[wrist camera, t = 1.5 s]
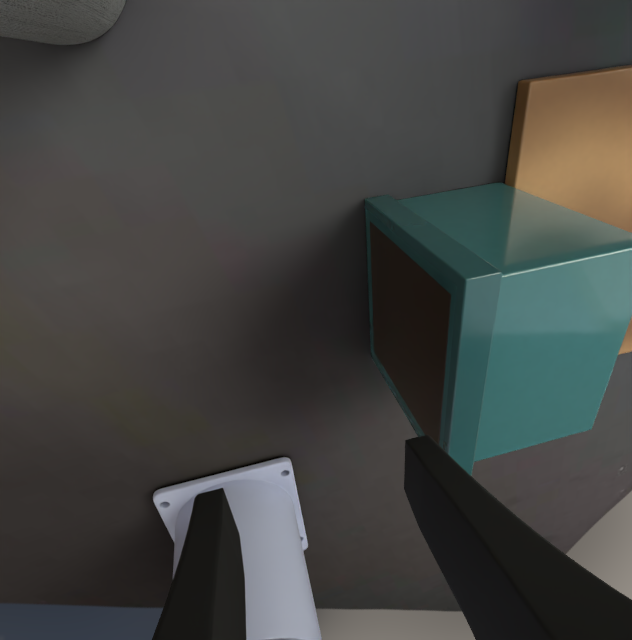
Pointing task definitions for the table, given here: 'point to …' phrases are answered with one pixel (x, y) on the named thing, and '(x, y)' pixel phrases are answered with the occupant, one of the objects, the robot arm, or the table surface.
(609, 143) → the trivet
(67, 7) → the planter
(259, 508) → the robot arm
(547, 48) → the table surface
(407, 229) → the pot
